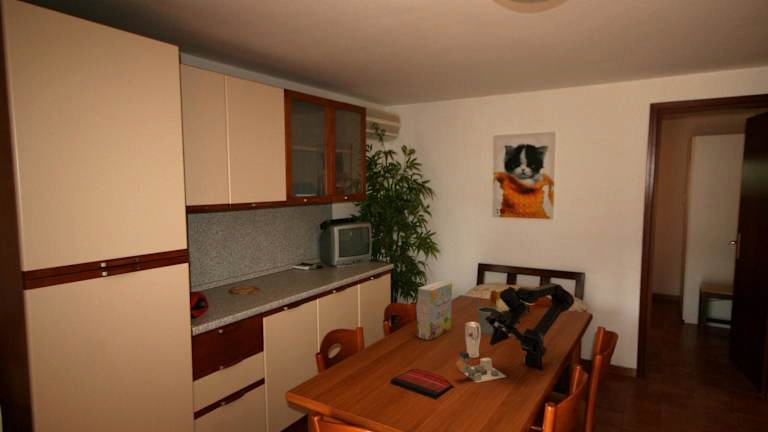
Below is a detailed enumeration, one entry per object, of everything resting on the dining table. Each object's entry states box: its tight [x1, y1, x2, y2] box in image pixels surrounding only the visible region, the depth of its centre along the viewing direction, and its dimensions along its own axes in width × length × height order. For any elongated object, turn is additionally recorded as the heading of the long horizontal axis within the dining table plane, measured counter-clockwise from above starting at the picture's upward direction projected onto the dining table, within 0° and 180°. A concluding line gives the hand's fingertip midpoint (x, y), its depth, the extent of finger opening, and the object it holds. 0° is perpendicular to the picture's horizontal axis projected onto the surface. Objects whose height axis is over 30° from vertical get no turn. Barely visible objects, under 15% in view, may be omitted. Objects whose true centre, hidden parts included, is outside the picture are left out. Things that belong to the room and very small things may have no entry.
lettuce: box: [495, 287, 527, 312], centre depth 255 cm, size 15×27×16 cm, turn 144°
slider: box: [479, 357, 493, 370], centre depth 180 cm, size 4×2×4 cm, turn 111°
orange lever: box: [455, 358, 477, 377], centre depth 171 cm, size 2×3×10 cm
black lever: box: [458, 350, 470, 366], centre depth 179 cm, size 2×3×7 cm
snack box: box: [416, 280, 453, 341], centre depth 225 cm, size 22×9×26 cm, turn 143°
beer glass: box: [464, 321, 482, 358], centre depth 195 cm, size 7×7×15 cm
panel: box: [457, 364, 507, 383], centre depth 177 cm, size 14×14×4 cm
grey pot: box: [477, 306, 498, 335], centre depth 228 cm, size 10×10×12 cm
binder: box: [390, 368, 454, 400], centre depth 170 cm, size 16×2×21 cm
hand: (490, 344), depth 174 cm, fingers closed
